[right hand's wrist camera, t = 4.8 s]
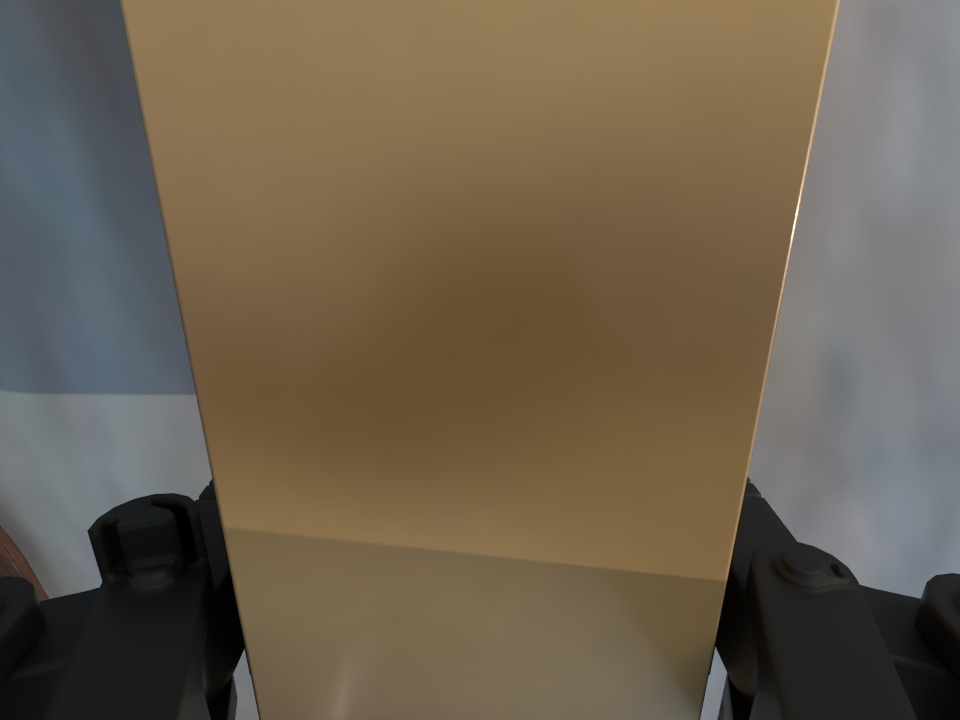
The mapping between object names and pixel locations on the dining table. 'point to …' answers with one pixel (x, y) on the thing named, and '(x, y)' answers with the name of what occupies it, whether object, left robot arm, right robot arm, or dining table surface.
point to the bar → (479, 330)
